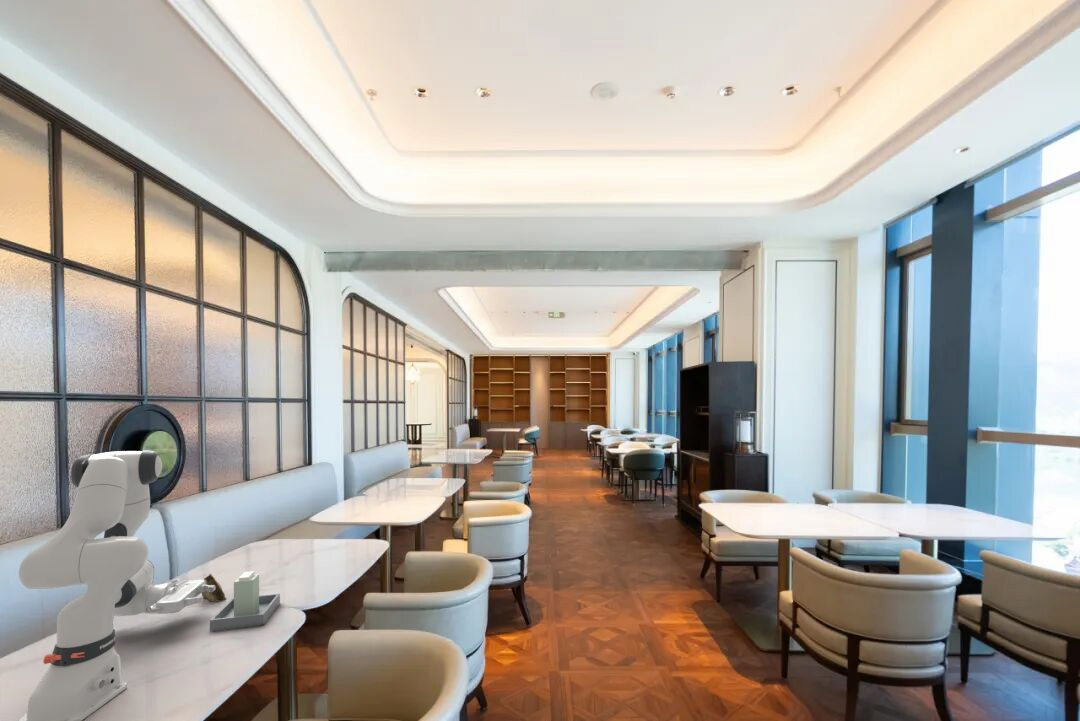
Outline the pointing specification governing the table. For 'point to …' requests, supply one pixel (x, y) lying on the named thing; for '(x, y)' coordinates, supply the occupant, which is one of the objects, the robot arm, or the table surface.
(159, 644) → the table surface
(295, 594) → the table surface
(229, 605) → the tray
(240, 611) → the juice carton
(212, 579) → the rock
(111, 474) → the robot arm
